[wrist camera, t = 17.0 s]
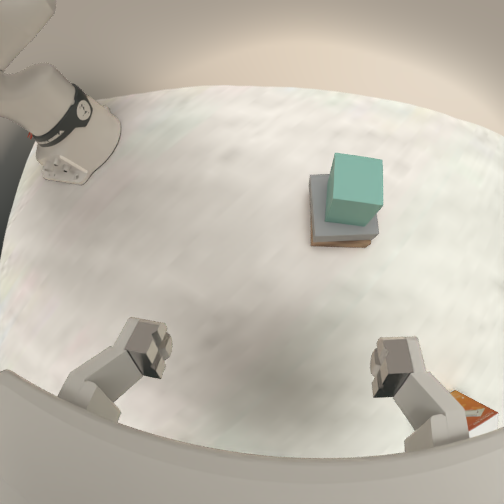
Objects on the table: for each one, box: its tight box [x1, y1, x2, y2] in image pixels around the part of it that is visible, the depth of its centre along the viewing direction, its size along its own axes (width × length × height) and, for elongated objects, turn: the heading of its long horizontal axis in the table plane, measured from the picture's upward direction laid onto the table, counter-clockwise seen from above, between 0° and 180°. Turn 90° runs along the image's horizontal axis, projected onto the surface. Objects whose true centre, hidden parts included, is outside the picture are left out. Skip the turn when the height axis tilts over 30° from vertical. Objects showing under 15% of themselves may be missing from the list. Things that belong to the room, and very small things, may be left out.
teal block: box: [325, 153, 383, 227], centre depth 30 cm, size 5×5×8 cm
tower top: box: [309, 174, 379, 242], centre depth 35 cm, size 8×8×4 cm
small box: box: [450, 390, 499, 438], centre depth 26 cm, size 8×6×13 cm
